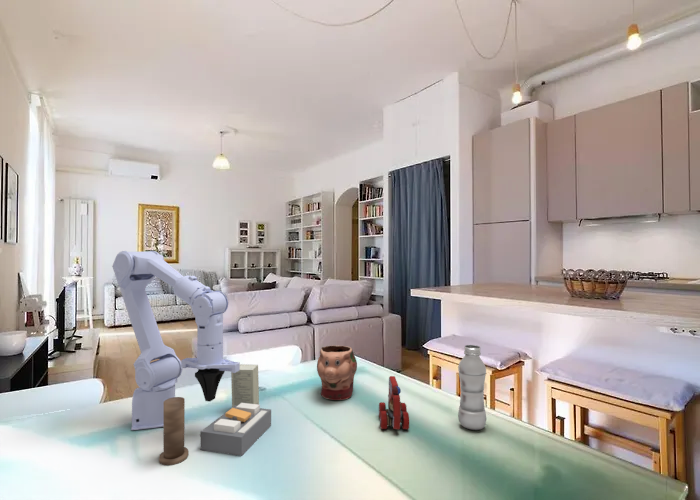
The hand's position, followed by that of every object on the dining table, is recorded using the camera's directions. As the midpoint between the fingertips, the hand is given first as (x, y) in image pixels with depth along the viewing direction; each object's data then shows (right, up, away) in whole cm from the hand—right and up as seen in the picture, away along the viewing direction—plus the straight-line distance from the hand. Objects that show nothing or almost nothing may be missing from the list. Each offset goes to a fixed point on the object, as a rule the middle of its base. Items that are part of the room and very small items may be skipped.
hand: (210, 399), depth 89 cm
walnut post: (-4, -8, -10) cm, 14 cm away
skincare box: (+5, -8, +12) cm, 15 cm away
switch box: (+7, -8, -2) cm, 11 cm away
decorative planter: (+29, -8, +25) cm, 39 cm away
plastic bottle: (+64, -8, +3) cm, 64 cm away
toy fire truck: (+44, -8, +5) cm, 45 cm away
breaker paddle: (+7, -3, -2) cm, 8 cm away
